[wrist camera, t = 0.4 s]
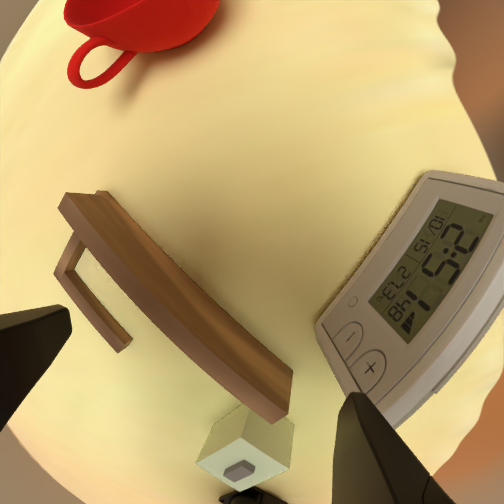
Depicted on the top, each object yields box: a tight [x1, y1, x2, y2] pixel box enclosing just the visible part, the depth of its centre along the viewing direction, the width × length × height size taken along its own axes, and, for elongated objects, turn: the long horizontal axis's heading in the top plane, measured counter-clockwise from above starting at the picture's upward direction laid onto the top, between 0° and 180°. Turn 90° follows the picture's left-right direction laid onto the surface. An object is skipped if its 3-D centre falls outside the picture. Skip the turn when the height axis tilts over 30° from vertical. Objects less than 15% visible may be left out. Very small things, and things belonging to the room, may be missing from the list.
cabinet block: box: [195, 403, 294, 492], centre depth 20 cm, size 6×5×7 cm
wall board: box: [53, 190, 293, 425], centre depth 21 cm, size 10×23×6 cm, turn 48°
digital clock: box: [315, 170, 504, 430], centre depth 15 cm, size 16×9×11 cm, turn 133°
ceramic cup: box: [64, 0, 220, 89], centre depth 16 cm, size 13×17×10 cm
